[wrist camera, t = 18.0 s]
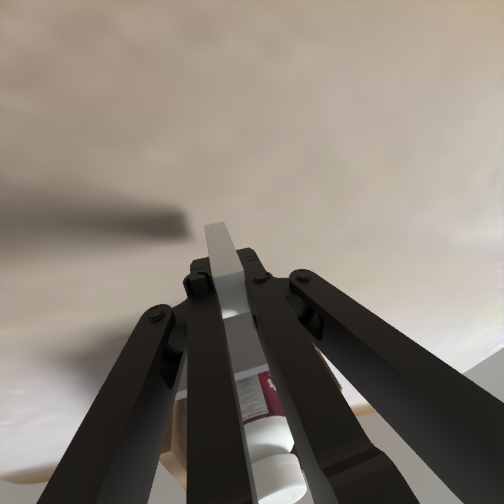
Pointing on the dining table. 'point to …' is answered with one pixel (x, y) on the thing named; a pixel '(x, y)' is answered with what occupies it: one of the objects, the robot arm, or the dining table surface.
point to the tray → (237, 351)
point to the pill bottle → (269, 442)
